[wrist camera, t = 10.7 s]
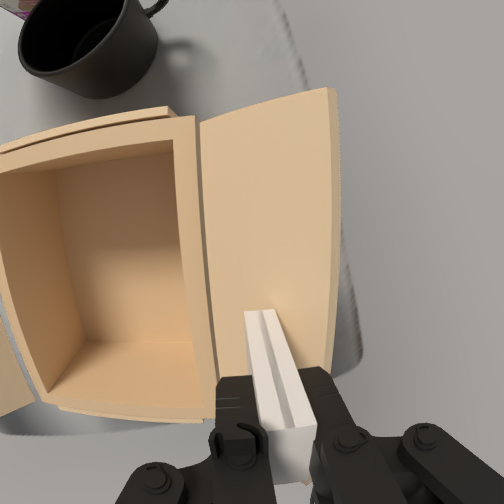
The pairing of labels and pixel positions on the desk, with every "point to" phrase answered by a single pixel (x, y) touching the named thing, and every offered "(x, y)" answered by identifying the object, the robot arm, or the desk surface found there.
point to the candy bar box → (19, 7)
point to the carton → (111, 266)
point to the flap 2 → (274, 224)
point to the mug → (89, 44)
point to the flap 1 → (11, 378)
